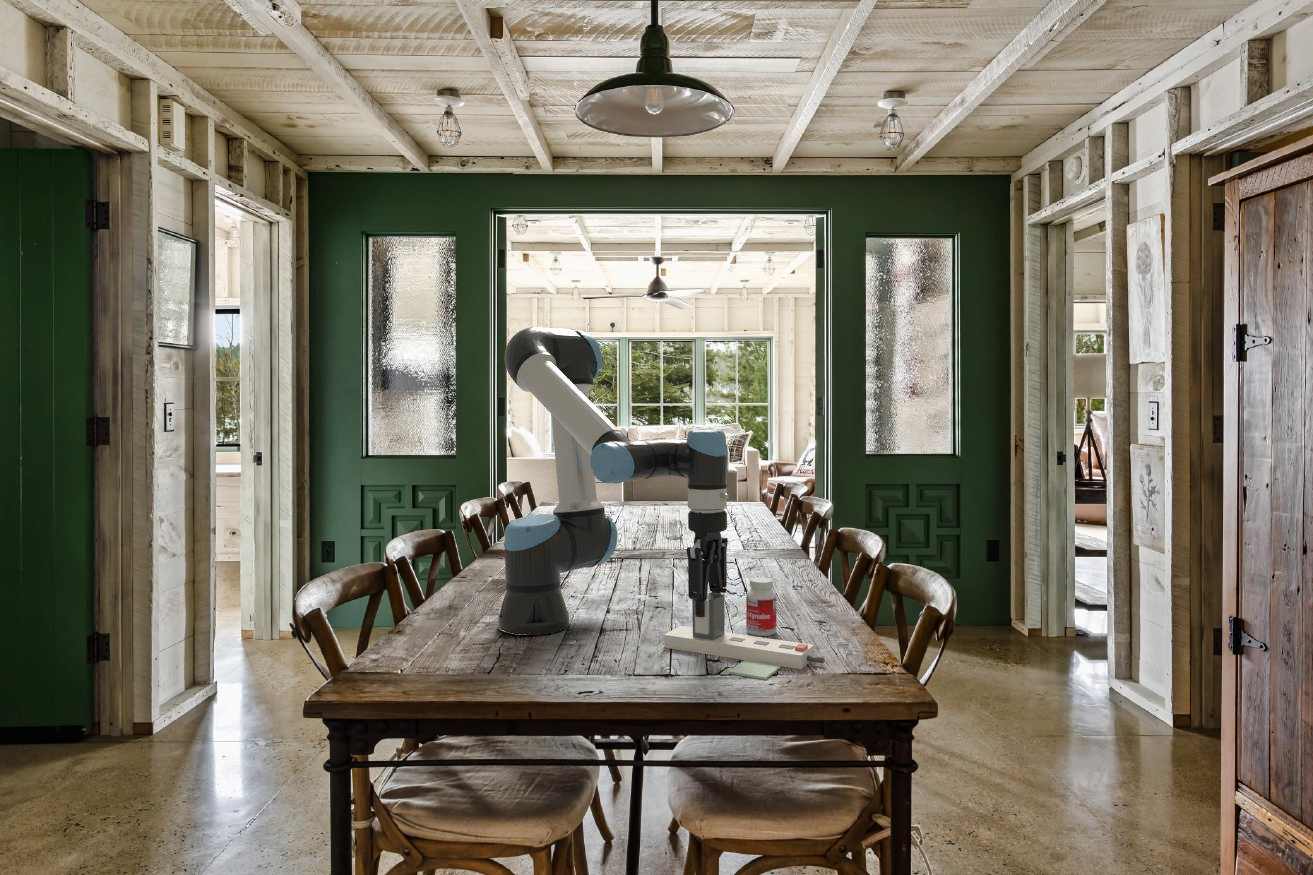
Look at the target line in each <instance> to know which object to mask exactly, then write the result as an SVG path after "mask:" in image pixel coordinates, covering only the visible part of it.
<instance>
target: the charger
mask: <svg viewBox="0 0 1313 875" xmlns="http://www.w3.org/2000/svg"><path fill="white" fill-rule="evenodd" d="M707 599H708V600H709V629H710V633H709V634H702V633H695V599H691V602H692V605H691V606H692V607H691V608H692V611H691V612H692V613H691V614H692V628H693V637H696V638H703V639H709V640H716V639H717V638H719V637H721V636H722V635H724V634H725V632H726V631H725V630H726V629H725V594H722V593H721V594H712V593H708V592H707Z"/></svg>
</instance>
